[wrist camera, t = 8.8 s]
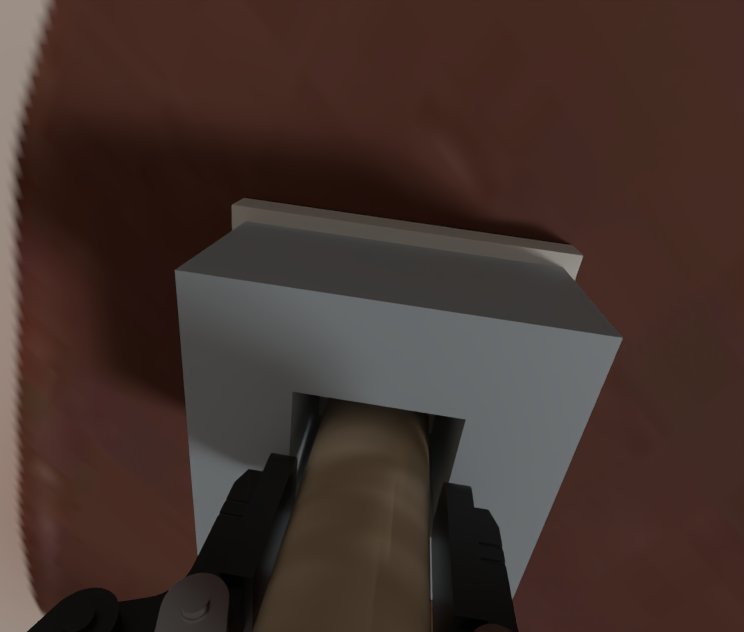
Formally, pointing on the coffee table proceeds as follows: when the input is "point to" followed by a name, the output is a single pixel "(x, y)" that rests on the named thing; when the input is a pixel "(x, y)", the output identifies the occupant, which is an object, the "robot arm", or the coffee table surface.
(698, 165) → the coffee table surface
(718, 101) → the coffee table surface
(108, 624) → the robot arm
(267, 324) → the socket
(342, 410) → the peg
